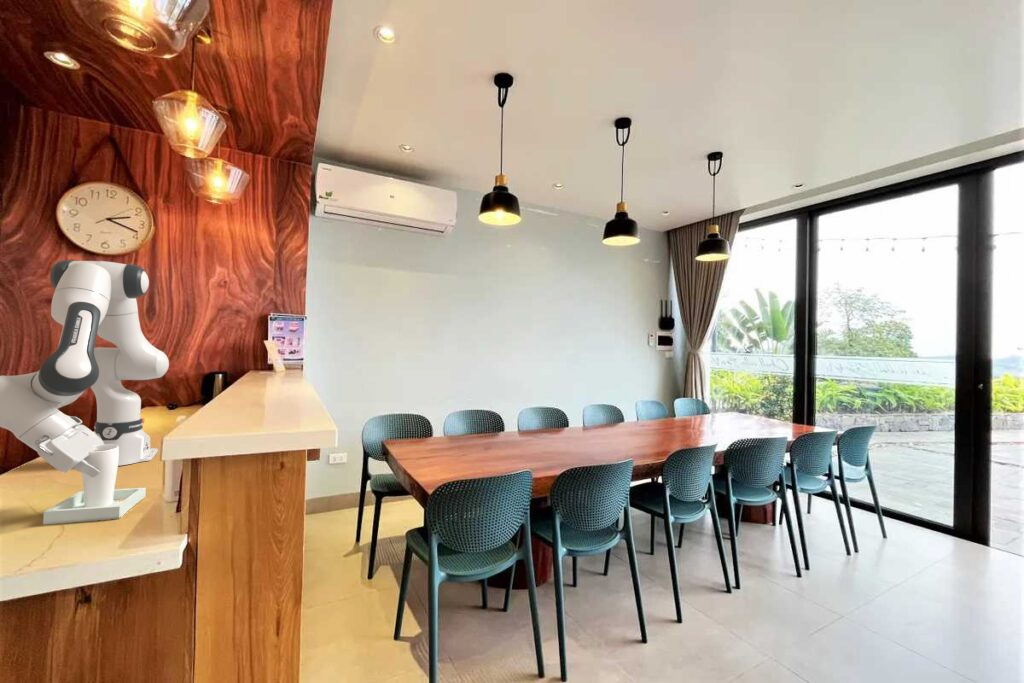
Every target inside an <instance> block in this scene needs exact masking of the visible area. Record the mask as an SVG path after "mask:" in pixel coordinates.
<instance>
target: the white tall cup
mask: <svg viewBox="0 0 1024 683" xmlns="http://www.w3.org/2000/svg"><path fill="white" fill-rule="evenodd" d="M94 447H96V448H97V450H96V451H94V452H88V453H89V456H87V457H86V458H85V459H84V460H85V461H87V462H88V464H90V465H91V466H93V467H95V466H96V467H97V468H98V469H100V470H101V472H100V473H99V474H98V475H96V476H95V477H90V476H89V475H87V474H85V473H82V472H81V475H82V476H81V477H82V486H83V491H84V507H85V508H86V507H101V506H110V505H111V504H112V503H113V496H114V489H116V487H115V486H116V482H117V481H116V479H117V475H118V469H119V468H118V467H119V466H118V462H119V446H118V445H113V444H104V445H95V446H94Z"/></svg>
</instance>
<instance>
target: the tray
mask: <svg viewBox="0 0 1024 683" xmlns="http://www.w3.org/2000/svg"><path fill="white" fill-rule="evenodd" d="M146 490H147V489H146V487H136V488H135V487H131V488H114V496H113V503H112V504H111V505H110V506H101V507H86V508H85V507H84V490H82V491H78V492H76V493H74V494H73V495H71V496H69V497H68V498H65V499H64V500H62V501H60V502H59V503H57V504H55V505H53V506H52V507H50V508H47V509H46V510H44V511H43V518H42V519H43V521H42V522H43V524H42V525H44V526H46V525H59V524H71V523H84V522H85V523H86V522H87V523H88V522H97V521H98V520H100V521H111V519H113V520H120V519H121V518H122V517H124V516H125V515H126V514H127V513H128V512H127V511H128V510H129V509H130V508H132V507H133V506H134V505H135V504H136V503H138V502H139V501H140V500H141V499H143V498H144V497H145V498H146V492H147V491H146ZM120 499H125V500H123V501H120V502H119V500H120ZM114 500H116V501H117V500H118V501H117V502H116V501H114ZM126 512H127V513H126ZM125 513H126V514H125ZM124 514H125V515H124ZM123 515H124V516H123ZM120 517H121V518H120ZM119 518H120V519H119ZM98 522H99V521H98Z"/></svg>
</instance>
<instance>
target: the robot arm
mask: <svg viewBox="0 0 1024 683" xmlns="http://www.w3.org/2000/svg"><path fill="white" fill-rule="evenodd" d="M49 279H50V284H51V286H52V287H53V289H54V293H53V296H52V299H51V304H50V305H51V307H50V312H51V313H50V315H51V317H52V319H53V320H54V321H55V322H56V323H58V324H59V325H62V330H61V334H60V338H59V341H58V346H57V349H56V350H55V352H53V353H52V354H51V355H50V356H48V357H47V358H46V359H45V360H44V362H42V364H41V366H40V368H39V370H38V371H35V372H34V371H33V372H30V373H25V374H19V375H17V374H16V375H0V428H2V429H6V430H7V431H10V432H11V433H12V434H13V435H14V436H15V438H16V439H17V440H19V441H20V442H22V443H23V444H25V445H26V446H28V447H29V448H31V449H32V450H34V451H36V452H37V454H38V456H40V458H42V459H43V460H44V461H46V462H47V463H48V464H49V465H50V466H52V467H53V468H55V469H56V470H57V471H58V472H63V473H68V472H69V471H70V470H72V469H74V470H75V471H77V472H80V473H81V474H82V473H85V474H87V475H89V476H90V477H95V476H96V475H98V474H99V473H100V472H101V470H100V469H98V468H97V467H96V466H95V467H93V466H91V465H90V464H88V462H87V461H85V460H84V459H85V458H86V457H87V456H89V453H88V452H94V451H96V450H97V448H96V447H94V446H95V445H104V444H113V445H118V446H119V462H118V467H121V466H127V465H130V464H131V465H132V464H137V463H141V462H148V461H152V460H153V458H154V457H155V455H156V454H157V453H158V452H159V449H158V448H157V447H151V437H150V435H148V434H147V432H146V431H144V430H143V429H144V427H143V424H145V417H141V411H142V410H141V409H142V399H141V396H140V395H139V394H138V393H137V392H134V391H132V390H129V389H127V388H125V387H124V385H123V384H122V381H146V380H153V379H154V380H155V379H159V378H162V377H163V376H165V375H166V373H167V372H168V370H169V366H170V360H169V358H168V356H167V354H166V353H165V352H164V351H162V350H160V349H158V348H156V347H155V346H154V345H153V344H151V342H149V341H148V340H147V338H146V337H145V335H144V333H143V332H142V328H141V324H140V317H139V309H138V308H139V307H138V302H137V298H141V297H143V296H144V295H145V294H146V293H147V291H148V289H149V285H150V280H149V277H148V274H147V271H146V270H145V269H144V268H143V266H140V265H137V264H132V263H128V264H127V263H126V264H125V263H120V262H114V261H107V260H106V261H105V260H101V261H100V260H99V261H97V260H74V259H66V260H59V261H57V262H56V263H55V264H53V265H52V266H51V269H50V274H49ZM97 336H98V337H99V338H101V339H103V340H105V341H107V342H110V343H112V344H113V345H114V346H116V347H105V346H104V347H101V346H100V347H99V346H98V347H95V345H96V341H97V340H96V339H97ZM88 389H91V390H92V392H93V393H94V397H95V400H96V421H95V422H94V426H93V428H94V431H92V429H90V428H88V427H87V426H86V425H84V424H83V420H82V419H80V417H79V418H78V417H77V416H71V415H67V414H65V413H64V412H62V411H60V408H62V407H65V406H67V405H70V404H72V403H73V402H75V401H76V400H78V399H79V397H81V396H82V394H84V393H85V392H86V390H88Z"/></svg>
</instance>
